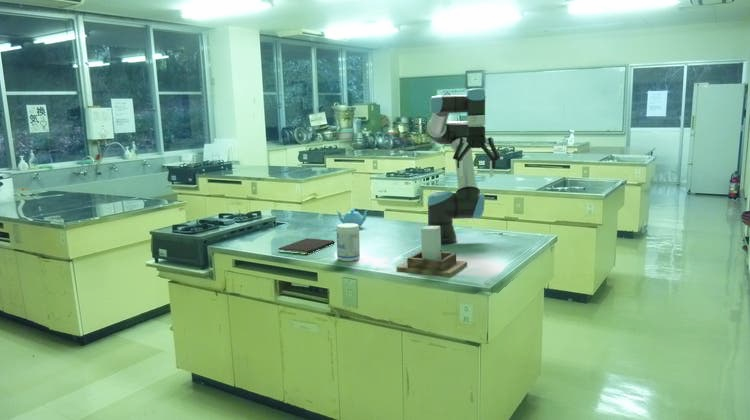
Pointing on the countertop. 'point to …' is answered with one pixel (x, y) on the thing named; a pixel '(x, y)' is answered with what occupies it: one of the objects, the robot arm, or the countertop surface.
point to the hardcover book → (307, 245)
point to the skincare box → (431, 243)
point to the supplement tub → (348, 242)
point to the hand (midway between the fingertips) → (476, 176)
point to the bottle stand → (433, 265)
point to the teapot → (353, 217)
